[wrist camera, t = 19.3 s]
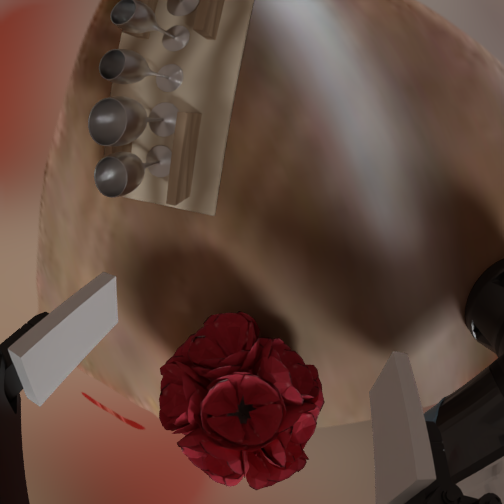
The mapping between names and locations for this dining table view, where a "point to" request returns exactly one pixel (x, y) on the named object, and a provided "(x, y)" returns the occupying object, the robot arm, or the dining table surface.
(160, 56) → the glass rack
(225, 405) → the bouquet
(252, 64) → the dining table surface
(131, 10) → the goblet set
